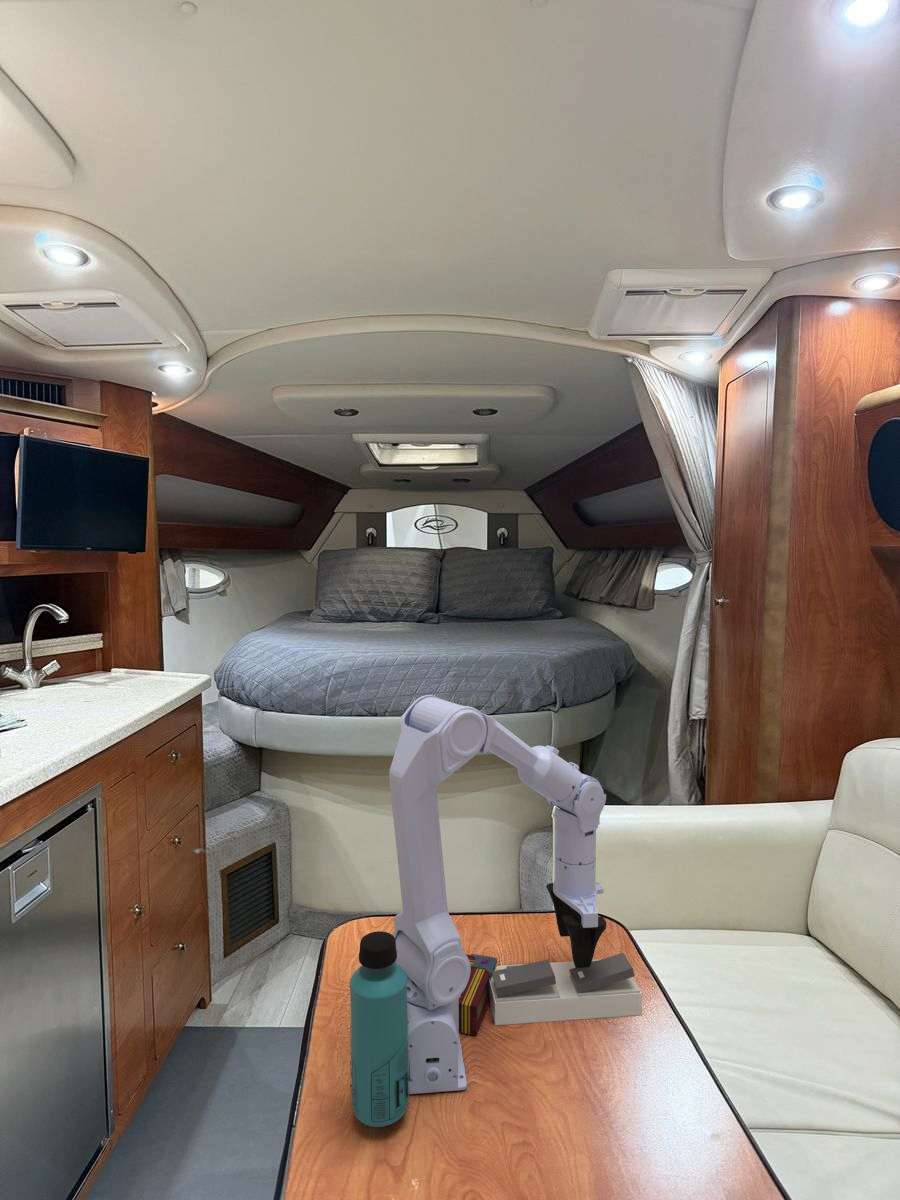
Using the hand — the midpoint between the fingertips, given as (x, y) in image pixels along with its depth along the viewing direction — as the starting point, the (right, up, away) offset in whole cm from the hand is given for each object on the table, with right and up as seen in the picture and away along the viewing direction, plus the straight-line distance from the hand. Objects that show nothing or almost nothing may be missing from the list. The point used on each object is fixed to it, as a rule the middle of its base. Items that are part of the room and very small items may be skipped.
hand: (574, 950), depth 93 cm
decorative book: (-20, -7, -2) cm, 21 cm away
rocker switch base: (-2, -6, -2) cm, 7 cm away
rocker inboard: (-7, -3, -5) cm, 9 cm away
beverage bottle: (-25, -7, -21) cm, 34 cm away
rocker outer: (+3, -3, -3) cm, 6 cm away
